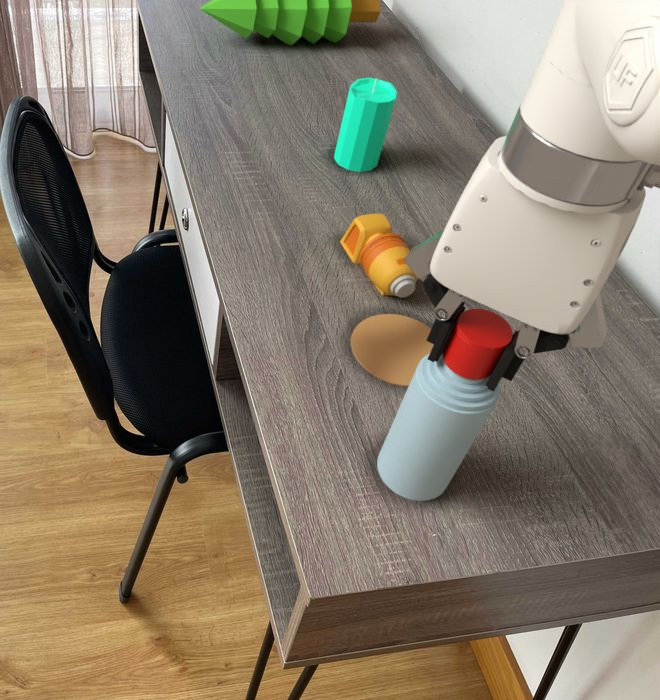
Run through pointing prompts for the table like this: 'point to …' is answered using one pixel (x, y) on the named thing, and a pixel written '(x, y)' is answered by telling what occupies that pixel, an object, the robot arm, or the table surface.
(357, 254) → the yellow plastic toy
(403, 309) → the table surface
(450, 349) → the cap
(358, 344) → the coaster
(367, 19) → the decorative tree
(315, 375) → the table surface
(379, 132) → the candle
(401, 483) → the bottle
